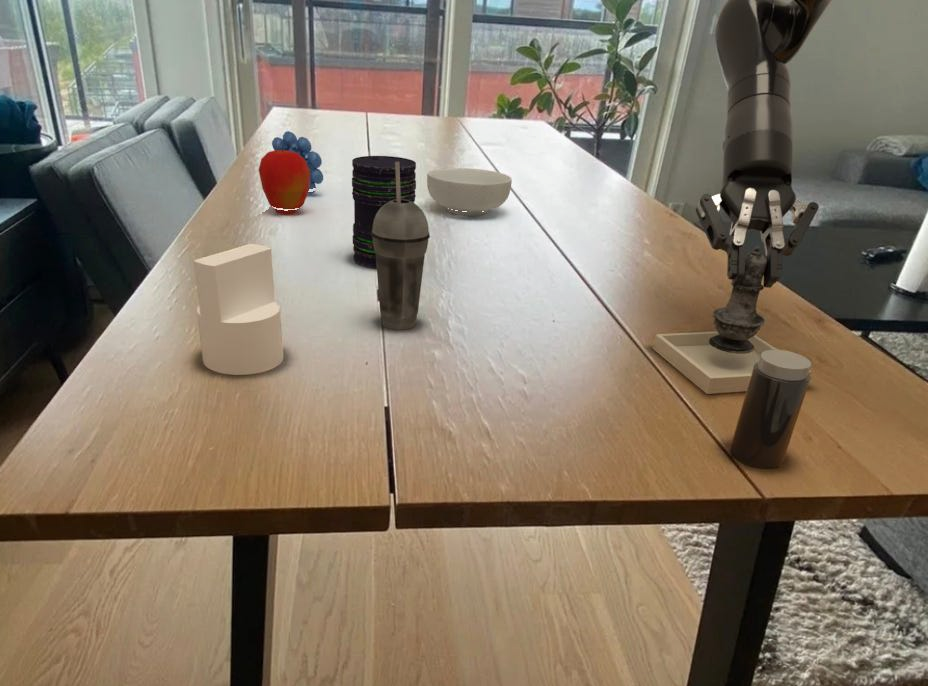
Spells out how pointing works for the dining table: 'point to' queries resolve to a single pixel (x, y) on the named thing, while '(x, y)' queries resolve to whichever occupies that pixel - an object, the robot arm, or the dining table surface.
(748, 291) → the salt shaker
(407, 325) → the beverage cup
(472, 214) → the cereal bowl
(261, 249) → the cylinder with rectangular tab
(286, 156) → the apple
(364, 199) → the storage jar
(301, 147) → the grapes
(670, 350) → the ivory tray
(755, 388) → the black pepper shaker
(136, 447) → the dining table surface
